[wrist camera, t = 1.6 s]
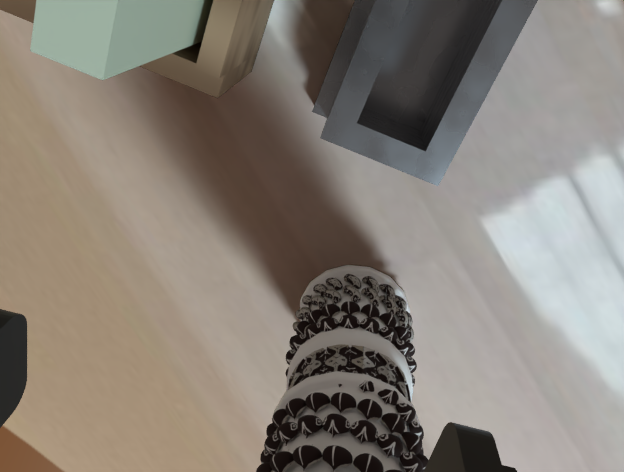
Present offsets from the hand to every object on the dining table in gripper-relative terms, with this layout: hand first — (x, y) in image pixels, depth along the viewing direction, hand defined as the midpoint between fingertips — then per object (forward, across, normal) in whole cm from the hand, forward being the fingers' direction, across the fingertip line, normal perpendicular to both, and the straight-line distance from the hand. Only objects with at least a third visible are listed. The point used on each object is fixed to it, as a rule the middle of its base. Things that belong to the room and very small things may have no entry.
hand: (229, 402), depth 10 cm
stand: (+26, -5, -7) cm, 28 cm away
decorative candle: (+27, -6, +15) cm, 31 cm away
